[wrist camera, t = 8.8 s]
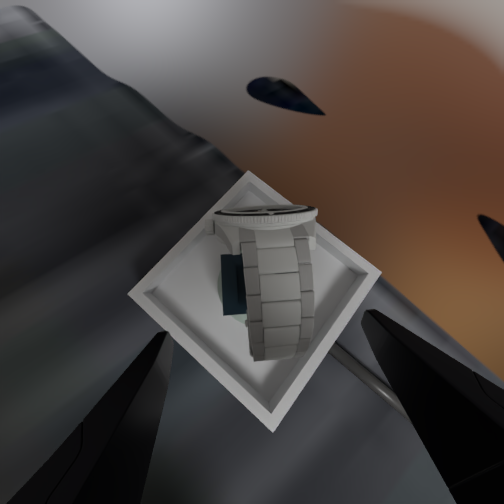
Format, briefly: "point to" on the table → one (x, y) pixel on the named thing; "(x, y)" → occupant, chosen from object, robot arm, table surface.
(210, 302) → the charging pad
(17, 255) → the table surface
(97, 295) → the table surface
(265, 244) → the watch
